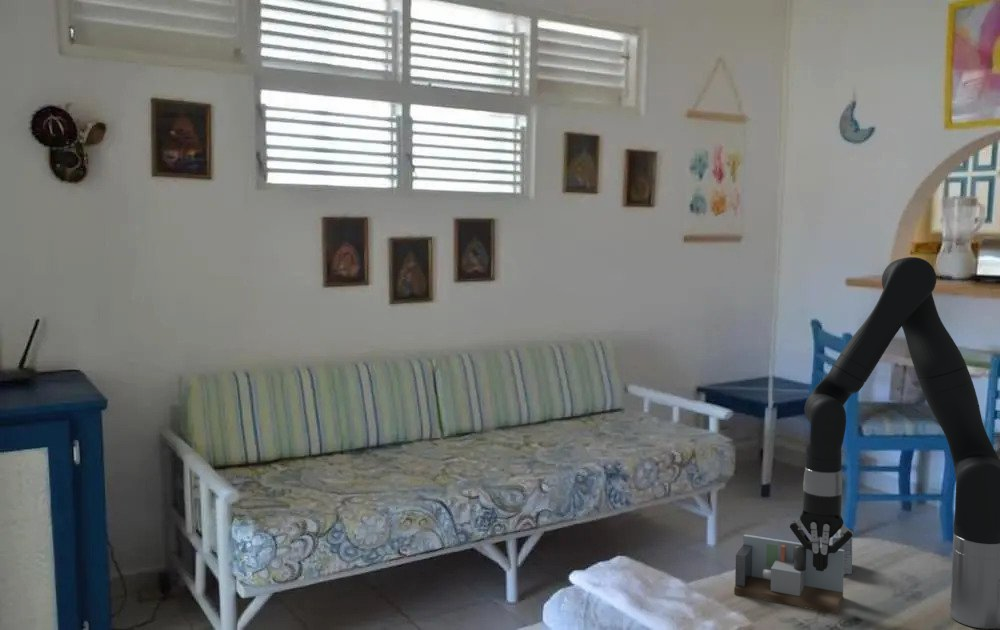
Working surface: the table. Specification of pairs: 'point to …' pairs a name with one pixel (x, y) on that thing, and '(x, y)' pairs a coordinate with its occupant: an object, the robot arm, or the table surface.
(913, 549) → the table surface
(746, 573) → the textured charcoal block
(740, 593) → the base
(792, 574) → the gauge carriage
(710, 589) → the table surface
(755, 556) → the board
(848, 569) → the medicine box
